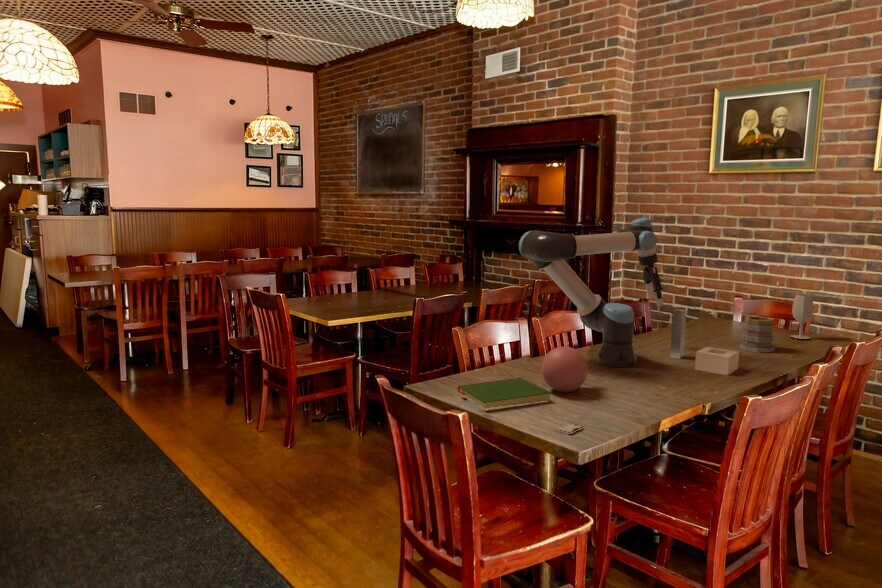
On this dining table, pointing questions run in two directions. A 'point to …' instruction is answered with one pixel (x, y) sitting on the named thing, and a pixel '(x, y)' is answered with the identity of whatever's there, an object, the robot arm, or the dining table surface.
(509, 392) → the hardcover book
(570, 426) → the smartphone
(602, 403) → the dining table surface
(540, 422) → the dining table surface
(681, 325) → the steel bar
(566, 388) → the matte pink sphere
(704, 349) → the well block
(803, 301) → the wineglass
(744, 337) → the tankard
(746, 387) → the dining table surface
